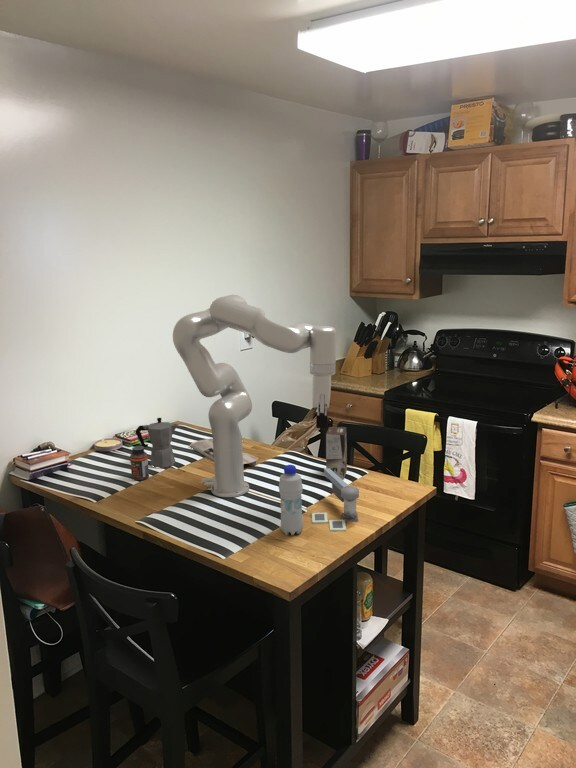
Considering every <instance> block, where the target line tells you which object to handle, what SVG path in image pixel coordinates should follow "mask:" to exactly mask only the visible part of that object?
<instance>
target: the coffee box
mask: <svg viewBox="0 0 576 768" xmlns="http://www.w3.org/2000/svg"><path fill="white" fill-rule="evenodd" d="M327 428H328V429H327V430H326V434H325V460H326V461H325V463H326V464H325V466H326V467H325V469H327V468H330V469H331V470H332V471H333V472H334V473H335V474H336V475H338V476H339V477H340V478H341V479H342V480H343V481H344V480H345V477H346V473H347V471H348V468H347V467H348V465H347V463H348V458H347V457H348V454H347V453H348V452H347V451H348V449H347V448H348V447H347V442H348V441H347V440H348V439H347V433H348V432H347V427H345V426H328V427H327ZM325 478H326V479H327V480H329V479H328V478H327V477H326V476H325Z"/></svg>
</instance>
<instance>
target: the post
mask: <svg viewBox="0 0 576 768" xmlns="http://www.w3.org/2000/svg"><path fill="white" fill-rule="evenodd" d="M341 516H342V520H345V522H359V517H358V513H357V499H354V500H347V499H344V502H343V512H342V513H341Z"/></svg>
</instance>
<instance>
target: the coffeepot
mask: <svg viewBox="0 0 576 768" xmlns="http://www.w3.org/2000/svg"><path fill="white" fill-rule="evenodd" d="M156 421H157V422H153V423H149V424H144V425H138V427H137V428H136V429H135V435H136V437H137V438H138V441H139V443H140V446H143V447H144V448H148V447H149V444H147V443H145V440H144V438H143V436H142V431H145V432H148V438H149V441H150V444H151V446H152V448H151V452H150V460H149V461H150V463H149V465H150V464H151V465H153V466H154V467H160V468H159V469H165V468H164V467H167V468H170V467H173V466H174V465H175V464H176V459H175V455H174V454H175V453H174V451H173V447H172V445H171V442H172V440H173V435H174V433H175V431H176V429H177V427H179V425H178V424H177V423H174V422H173V423H171V422H169V421H162V417H157V418H156ZM174 463H175V464H174ZM151 465H150V466H151ZM172 465H173V466H172ZM169 466H170V467H169ZM154 467H153V468H154Z"/></svg>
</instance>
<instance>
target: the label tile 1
mask: <svg viewBox="0 0 576 768" xmlns="http://www.w3.org/2000/svg"><path fill="white" fill-rule="evenodd" d="M328 523H329V520H328V513H327V512H311V524H328Z"/></svg>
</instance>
